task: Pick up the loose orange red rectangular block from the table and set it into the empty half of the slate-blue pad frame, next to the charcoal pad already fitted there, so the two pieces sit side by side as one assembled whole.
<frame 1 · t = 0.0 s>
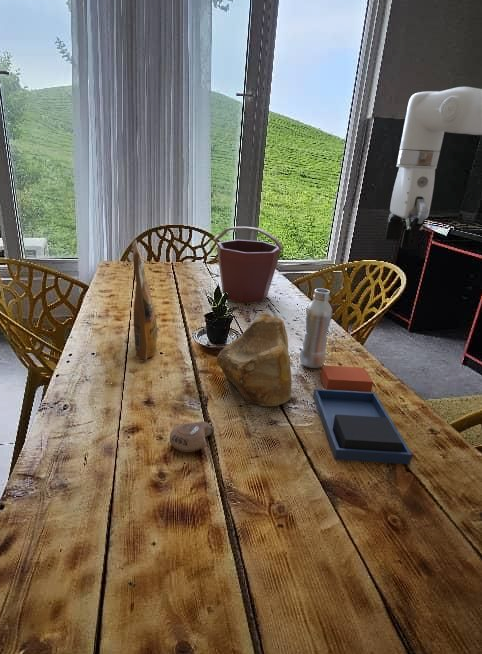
hand: (399, 244, 96), 33 cm above the table, tool pointing down, fingers open, 9 cm apart
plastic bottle: (311, 365, 114), on the table
pad frame: (355, 428, 89), on the table
rough brown rock: (251, 385, 103), on the table
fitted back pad: (363, 443, 83), resting on pad frame
bucket: (244, 295, 165), on the table
orange red rectangular block: (344, 386, 104), on the table
pancake mix bag: (144, 347, 120), on the table
oil lamp: (193, 443, 82), on the table
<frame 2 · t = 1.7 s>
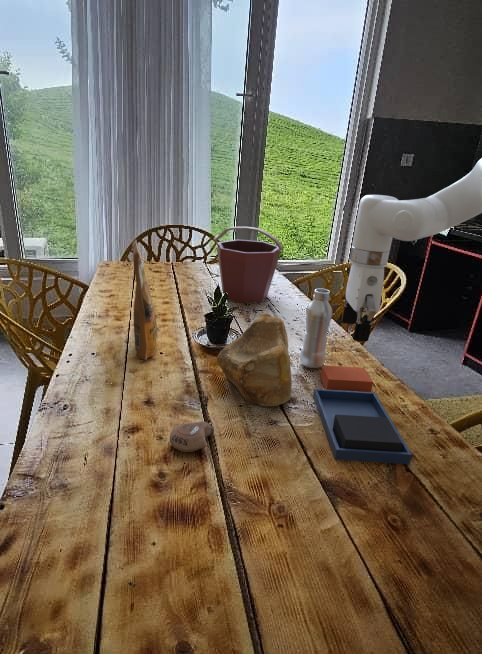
hand: (354, 331, 99), 14 cm above the table, tool pointing down, fingers open, 9 cm apart
nothing on the table moved.
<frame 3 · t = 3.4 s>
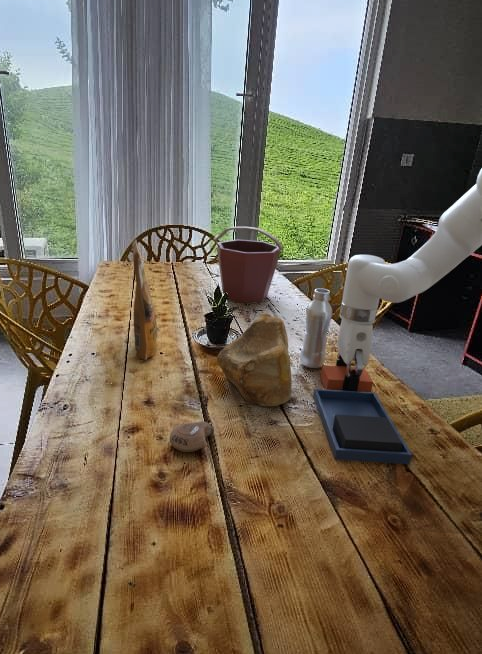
hand: (345, 382, 104), 1 cm above the table, tool pointing down, fingers closed on orange red rectangular block, 7 cm apart
orange red rectangular block: (344, 386, 104), on the table, touching gripper
everything else where it was.
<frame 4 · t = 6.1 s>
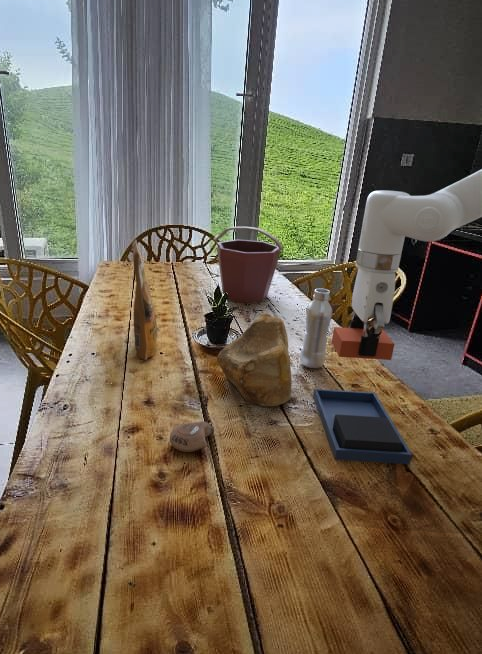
hand: (361, 346, 89), 15 cm above the table, tool pointing down, fingers closed on orange red rectangular block, 7 cm apart
orange red rectangular block: (360, 350, 89), point 14 cm above the table, touching gripper
everything else where it was.
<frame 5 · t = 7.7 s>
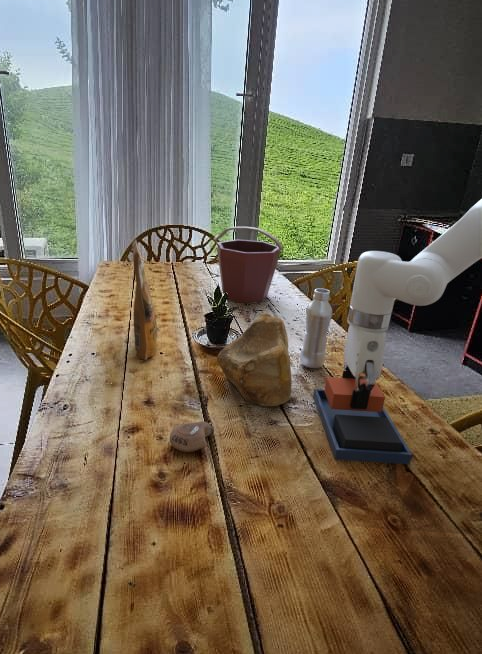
hand: (352, 397, 91), 4 cm above the table, tool pointing down, fingers closed on orange red rectangular block, 7 cm apart
orange red rectangular block: (351, 401, 91), point 3 cm above the table, touching gripper
everything else where it was.
when the fingers open (2 cm above the table, at t = 9.1 s): orange red rectangular block stays where it is, resting on pad frame.
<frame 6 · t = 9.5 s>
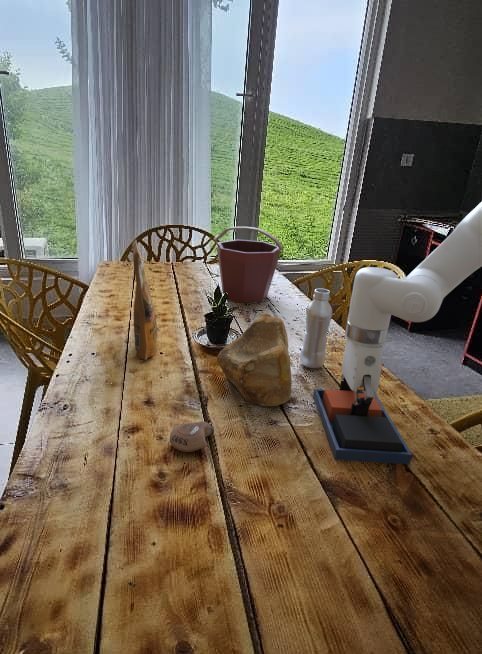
hand: (351, 408, 92), 2 cm above the table, tool pointing down, fingers open, 8 cm apart
orange red rectangular block: (349, 413, 93), resting on pad frame
everything else where it was.
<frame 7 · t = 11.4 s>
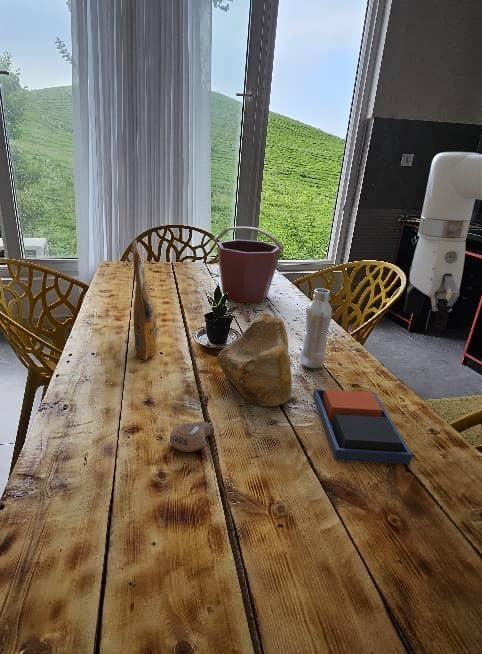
hand: (422, 321, 82), 22 cm above the table, tool pointing down, fingers open, 9 cm apart
nothing on the table moved.
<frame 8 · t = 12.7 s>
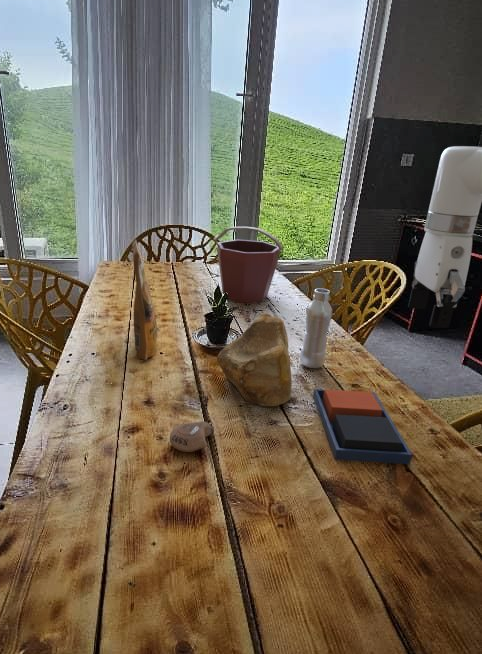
hand: (426, 317, 82), 23 cm above the table, tool pointing down, fingers open, 9 cm apart
nothing on the table moved.
at the end: orange red rectangular block 0.1 cm from the target spot in the pad frame, point 0.5 cm above the pad frame's base; orange red rectangular block tilted 0°; the gripper is holding nothing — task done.
